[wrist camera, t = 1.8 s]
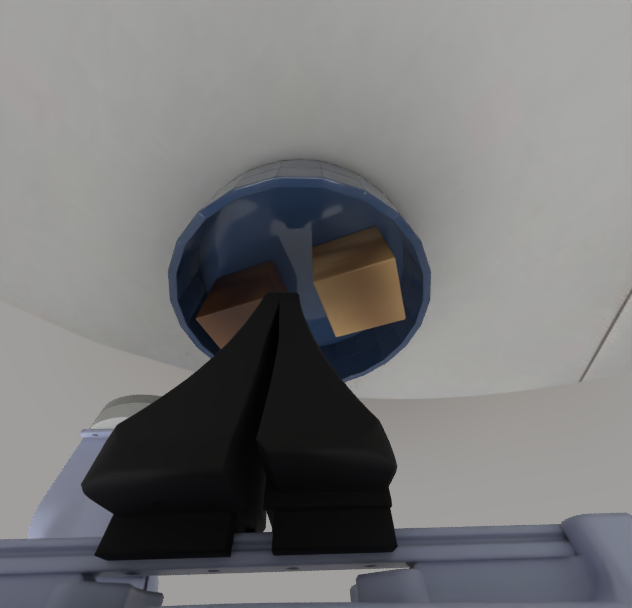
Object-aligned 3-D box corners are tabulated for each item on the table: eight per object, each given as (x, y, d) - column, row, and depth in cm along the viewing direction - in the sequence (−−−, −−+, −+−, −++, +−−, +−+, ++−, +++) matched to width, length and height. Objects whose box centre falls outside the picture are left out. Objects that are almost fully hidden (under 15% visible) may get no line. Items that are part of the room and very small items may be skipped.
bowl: (220, 346, 22) (205, 389, 18) (163, 157, 13) (118, 174, 10) (386, 345, 22) (399, 386, 19) (434, 161, 14) (473, 178, 10)
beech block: (330, 296, 18) (335, 338, 15) (311, 246, 16) (312, 282, 13) (388, 280, 17) (406, 319, 14) (376, 224, 15) (395, 257, 12)
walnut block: (245, 321, 19) (233, 364, 16) (215, 278, 17) (194, 318, 14) (296, 307, 19) (293, 349, 15) (272, 259, 16) (263, 297, 13)
